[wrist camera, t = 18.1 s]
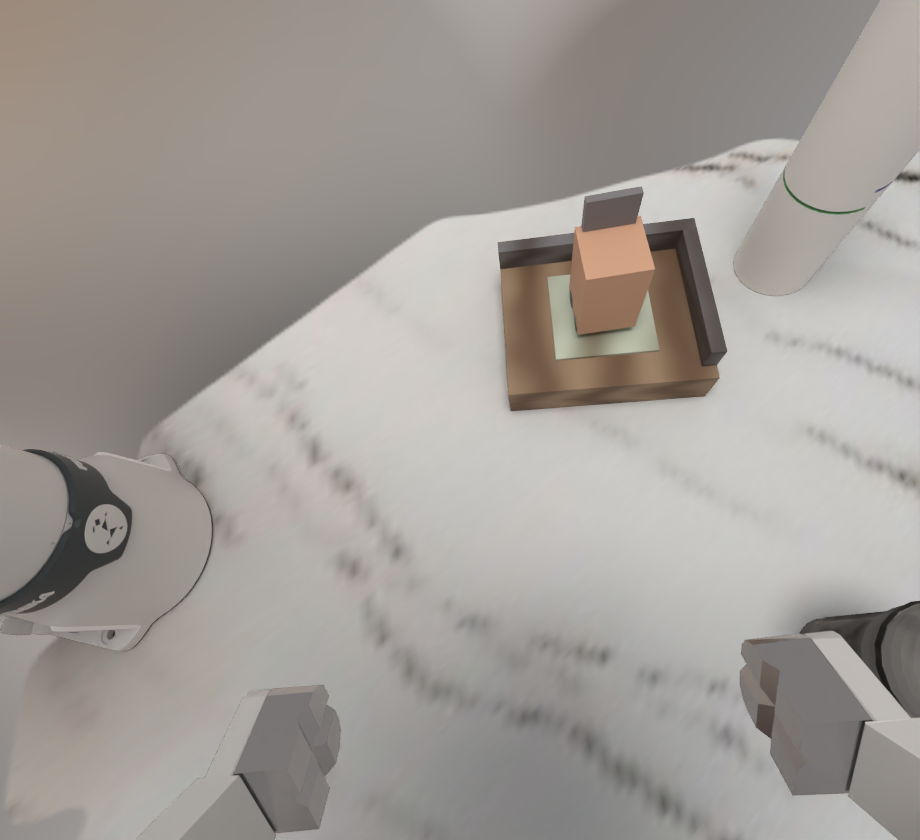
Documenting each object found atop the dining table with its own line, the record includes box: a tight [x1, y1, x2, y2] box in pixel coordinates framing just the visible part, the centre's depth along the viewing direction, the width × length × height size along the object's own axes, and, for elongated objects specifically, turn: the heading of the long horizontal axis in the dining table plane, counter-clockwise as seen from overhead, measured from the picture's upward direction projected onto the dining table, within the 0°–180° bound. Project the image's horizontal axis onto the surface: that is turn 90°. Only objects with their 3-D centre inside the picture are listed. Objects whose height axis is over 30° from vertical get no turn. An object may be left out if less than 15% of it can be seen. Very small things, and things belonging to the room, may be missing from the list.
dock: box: [498, 218, 727, 411], centre depth 46 cm, size 18×15×6 cm
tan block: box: [569, 187, 655, 335], centre depth 39 cm, size 5×5×12 cm
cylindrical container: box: [733, 0, 920, 296], centre depth 37 cm, size 7×7×25 cm
